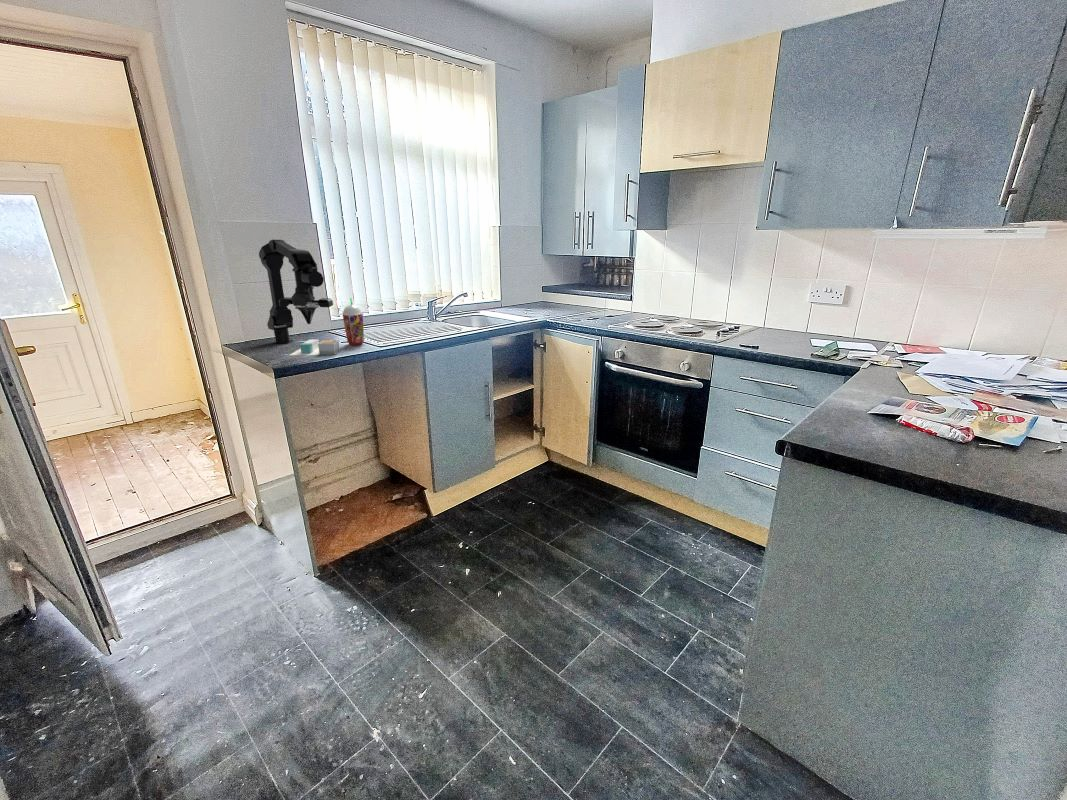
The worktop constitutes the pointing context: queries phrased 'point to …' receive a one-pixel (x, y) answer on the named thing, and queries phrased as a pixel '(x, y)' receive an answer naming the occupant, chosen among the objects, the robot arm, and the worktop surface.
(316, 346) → the milk carton
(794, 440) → the worktop surface
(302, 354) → the paper sheet
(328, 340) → the button
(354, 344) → the smoothie
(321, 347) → the button housing
